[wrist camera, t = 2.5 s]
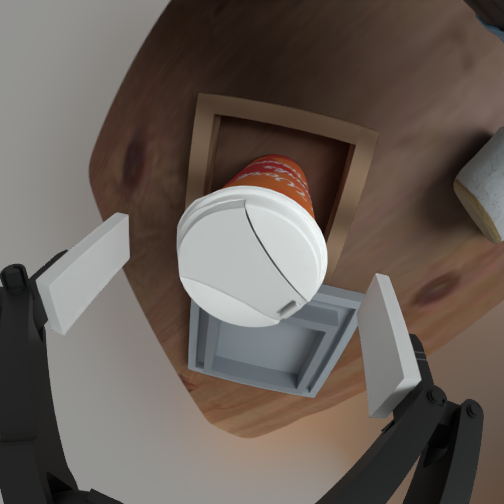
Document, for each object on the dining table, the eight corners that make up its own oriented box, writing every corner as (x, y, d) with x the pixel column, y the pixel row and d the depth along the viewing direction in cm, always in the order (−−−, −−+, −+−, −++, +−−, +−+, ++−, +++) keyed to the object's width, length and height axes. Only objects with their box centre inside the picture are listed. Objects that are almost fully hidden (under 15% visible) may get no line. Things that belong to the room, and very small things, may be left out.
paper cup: (336, 185, 25) (363, 278, 13) (276, 240, 28) (252, 353, 17) (270, 122, 23) (231, 154, 11) (213, 184, 27) (139, 268, 15)
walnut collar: (208, 92, 23) (198, 93, 20) (372, 128, 22) (379, 132, 20) (191, 235, 30) (182, 247, 28) (328, 268, 29) (329, 283, 27)
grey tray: (198, 254, 31) (188, 270, 28) (366, 294, 30) (370, 313, 27) (191, 360, 40) (184, 377, 37) (314, 388, 39) (313, 406, 37)
